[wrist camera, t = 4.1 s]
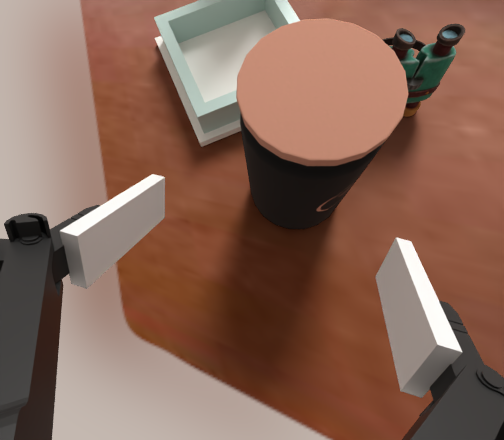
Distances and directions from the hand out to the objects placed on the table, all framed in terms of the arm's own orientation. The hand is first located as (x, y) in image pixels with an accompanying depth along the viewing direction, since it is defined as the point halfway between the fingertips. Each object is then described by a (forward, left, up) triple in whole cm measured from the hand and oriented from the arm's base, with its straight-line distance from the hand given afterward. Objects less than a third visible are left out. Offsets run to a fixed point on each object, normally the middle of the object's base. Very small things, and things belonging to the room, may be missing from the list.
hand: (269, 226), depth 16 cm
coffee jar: (+7, -7, -18) cm, 20 cm away
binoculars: (+15, -24, -18) cm, 33 cm away
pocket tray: (+27, -8, -17) cm, 33 cm away
